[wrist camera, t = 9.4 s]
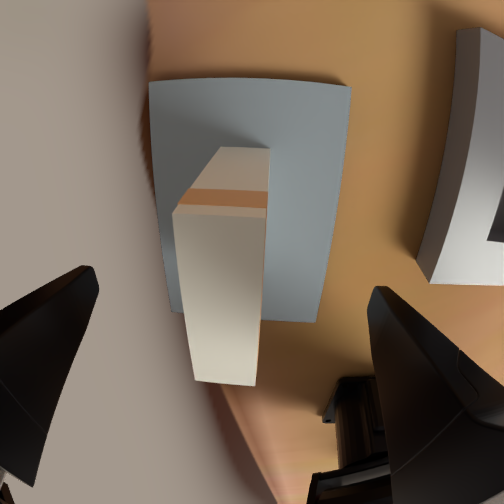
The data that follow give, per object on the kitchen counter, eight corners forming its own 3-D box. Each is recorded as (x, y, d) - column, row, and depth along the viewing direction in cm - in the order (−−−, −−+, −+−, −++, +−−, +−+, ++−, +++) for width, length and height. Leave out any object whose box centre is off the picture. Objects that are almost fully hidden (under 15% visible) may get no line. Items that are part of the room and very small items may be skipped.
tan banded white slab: (263, 273, 15) (255, 386, 10) (222, 270, 15) (194, 380, 10) (271, 148, 12) (266, 217, 6) (220, 146, 12) (171, 212, 7)
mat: (314, 315, 17) (315, 322, 17) (174, 305, 18) (171, 311, 17) (348, 86, 11) (351, 87, 10) (153, 81, 11) (148, 82, 11)
